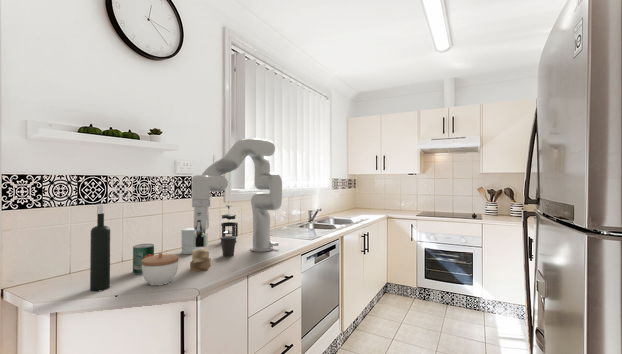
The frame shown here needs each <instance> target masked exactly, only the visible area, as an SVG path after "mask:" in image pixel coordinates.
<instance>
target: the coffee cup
mask: <svg viewBox="0 0 622 354" xmlns="http://www.w3.org/2000/svg"><path fill="white" fill-rule="evenodd" d="M219 239H220V244H221V243H222V244H221V250H222V258H230V257H232V258H233V257H234V256H235V249H236V248H235V246H236V243H235V241H236V242H237V237H234V236H232V235H225V236H223V237H222V236H221V237H220V238H219Z"/></svg>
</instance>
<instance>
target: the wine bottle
mask: <svg viewBox="0 0 622 354" xmlns="http://www.w3.org/2000/svg"><path fill="white" fill-rule="evenodd" d="M96 215H97V220H96V221H97V222H96V223H97V225H96V226H93V227H92V228H91V230H90V244H89V245H90V252H89V255H90V259H89V261H90V263H89V266H90V267H89V291H90V290H91V292H100V291H99V290H102V291H105V290H104V289H106V290H108V289H109V287H110V288H111V228H110V227H109V226H107V225H105V203H97V205H96ZM107 288H108V289H107Z"/></svg>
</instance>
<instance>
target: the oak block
mask: <svg viewBox="0 0 622 354" xmlns="http://www.w3.org/2000/svg"><path fill="white" fill-rule="evenodd" d="M209 258H210V251H209V250H208V249H207V248H201V249H200V250H192V254H191V261H192V260H193V262H194V263H195V262H203V261H209Z"/></svg>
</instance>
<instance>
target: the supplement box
mask: <svg viewBox="0 0 622 354" xmlns="http://www.w3.org/2000/svg"><path fill="white" fill-rule="evenodd" d="M180 231H181V255H192V250H200V249H202V247H194V235H195V234H196V230H194V227H187V228H184V229H181V230H180Z"/></svg>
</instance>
